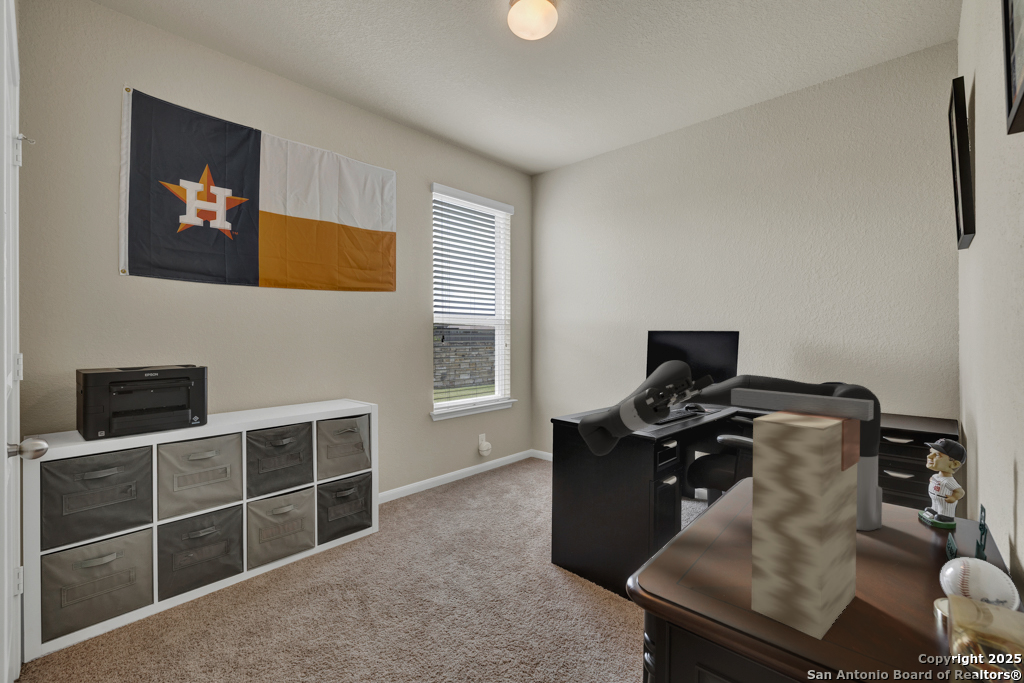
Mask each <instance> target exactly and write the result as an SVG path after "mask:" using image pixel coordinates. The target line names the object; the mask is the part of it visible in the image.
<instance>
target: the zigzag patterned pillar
mask: <svg viewBox="0 0 1024 683" xmlns="http://www.w3.org/2000/svg"><path fill="white" fill-rule="evenodd" d="M752 420H753V421H752V425H753V427H752V428H753V429H752V431H753V432H752V510H751V512H752V515H751V516H752V518H751V519H752V520H751V522H752V526H751V530H752V531H751V547H752V548H751V611H754V612H756V613H758V614H762V615H763V616H766V617H768V618H770V619H771V620H774V621H777V622H780V623H781V624H784V625H786V626H788V627H791V628H792V629H795V630H797V631H799V632H802V633H803V634H805V635H808V636H810V637H813V638H815V639H816V640H817V639H818V640H820V641H822V639H823V637H824V636H825V635H826V634H827V633H828V631H829V630H830V629H831V628H832V626H833V625H834V624H835V622H836V621H837V620H836V619H839V617H840V616H841V615H842V613H843V612H844V611H845V610H846V608H847V607H848V606H849V604H850V603H851V602H852V600H853V599H854V598H855V596H856V584H857V582H856V580H857V578H856V576H857V575H856V573H857V570H856V568H857V565H856V564H857V562H856V561H857V530H856V519H857V462H859V459H860V420H856V419H848V418H840V417H832V416H823V415H815V414H807V413H798V412H790V411H779V412H771V413H767V414H765V415H761V416H758V417H756V418H753V419H752ZM847 605H848V606H847ZM846 606H847V607H846ZM844 609H845V610H844ZM843 610H844V611H843ZM842 611H843V612H842ZM840 614H841V615H840ZM839 615H840V616H839ZM838 616H839V617H838ZM835 620H836V621H835ZM833 623H834V624H833ZM832 624H833V625H832Z"/></svg>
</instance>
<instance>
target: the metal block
mask: <svg viewBox="0 0 1024 683" xmlns="http://www.w3.org/2000/svg"><path fill="white" fill-rule="evenodd" d="M731 404H732V405H740V406H749V407H757V408H765V409H774V410H782V411H790V412H798V413H807V414H815V415H823V416H832V417H840V418H848V419H856V420H865V421H869V420H871V419H873V408H874V400H863V399H852V398H841V397H830V396H820V395H809V394H798V393H787V392H776V391H765V390H755V389H744V388H735V389H731Z"/></svg>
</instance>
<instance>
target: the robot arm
mask: <svg viewBox="0 0 1024 683" xmlns="http://www.w3.org/2000/svg"><path fill="white" fill-rule="evenodd" d="M735 388H744V389H755V390H765V391H776V392H787V393H798V394H809V395H820V396H830V397H841V398H852V399H863V400H874V408H873V419H871V420H869V421H865V420H860V459H859V462H857V519H856V531H857V530H858V531H874V530H876V529H882V528H883V527H882V523H883V522H882V521H883V520H882V519H883V518H882V516H883V488H882V487H881V486H879V450H880V449H879V446H880V443H881V422H882V421H881V419H882V418H881V417H882V415H881V414H882V411H881V409H882V408H881V403H880V400H879V398H878V397H877V396H876V395H875V393H874V392H872V391H871V389H869V388H868V387H865V386H864V385H861V384H856V383H855V384H854V383H852V384H850V383H848V384H847V383H845V384H843V383H842V384H841V383H840V384H839V383H836V384H831V383H810V382H809V383H808V382H802V381H796V380H793V379H787V378H781V377H772V376H766V375H756V374H755V375H753V374H740V375H737V376H734V377H731V378H728V379H726V380H724V381H722V382H718V383H715V381H714V379H713V377H712V375H710V374H707V375H704V376H702V377H701V378H698V379H697V380H693V381H692V372H691V367H690V365H689V364H688V363H687V362H686V361H685V362H684V361H683V360H679V359H677V360H669V361H664V362H663V363H662V364H660V365H659V366H658V367H657V368H656V369H655V370H654V371H653V372H652V373H651V374H650V375H649V376H648V377H647V378H646V379H645V380H644V381H643V382H642V383H641V384H640V385H639V386H638V387H637V388H636V389H635V390H634V391H633V392H632V393H630V394H629V395H628V396H626V397H625V398H624V399H621V400H620V401H619V402H618V403H616V404H614V405H613V406H612V407H610V408H609V409H608V410H607V411H605V412H598V413H593V414H589V415H585V417H583V418H581V420H580V421H579V422H578V425H577V429H578V430H577V431H578V432H579V434H580V436H581V437H582V439H583V441H585V444H586V445H587V446H588V449H589V450H590V451H591V452H592V454H594V455H595V456H599V457H601V456H606V455H608V454H609V453H610V452H611V451H613V450H614V448H615V447H616V445H617V444H618V443H619V440H620V439H622V438H624V437H626V436H629V435H631V434H633V433H635V432H637V431H639V430H644V429H646V428H648V427H650V426H652V425H655V424H656V423H658V422H660V421H662V420H664V419H666V418H668V417H669V416H670V414H671V406H672V407H675V406H676V405H680V404H694V405H695V404H696V405H697V404H699V405H714V406H722V407H723V406H725V407H732V408H739V409H745V410H750V411H751V410H752V411H759V412H769V413H770V412H771V413H775V412H779V411H782V410H774V409H765V408H757V407H749V406H740V405H732V404H731V389H735Z"/></svg>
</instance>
